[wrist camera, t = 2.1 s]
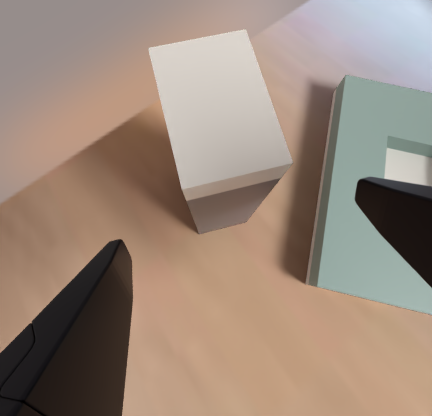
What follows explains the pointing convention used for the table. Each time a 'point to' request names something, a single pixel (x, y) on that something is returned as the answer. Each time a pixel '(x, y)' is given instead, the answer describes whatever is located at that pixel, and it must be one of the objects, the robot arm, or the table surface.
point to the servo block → (220, 127)
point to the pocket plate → (346, 187)
